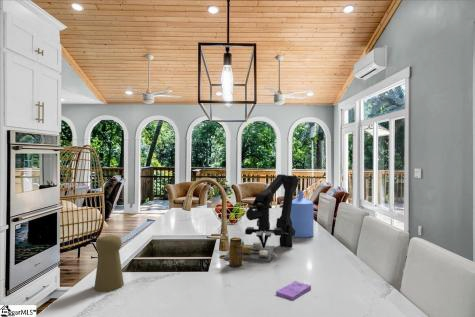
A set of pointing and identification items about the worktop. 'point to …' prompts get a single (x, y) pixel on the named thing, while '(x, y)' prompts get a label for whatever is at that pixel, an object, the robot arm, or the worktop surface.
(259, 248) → the slider
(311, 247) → the worktop surface
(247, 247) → the slider
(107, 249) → the cork
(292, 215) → the water jug
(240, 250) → the condiment
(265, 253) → the button
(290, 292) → the sponges
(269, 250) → the panel
